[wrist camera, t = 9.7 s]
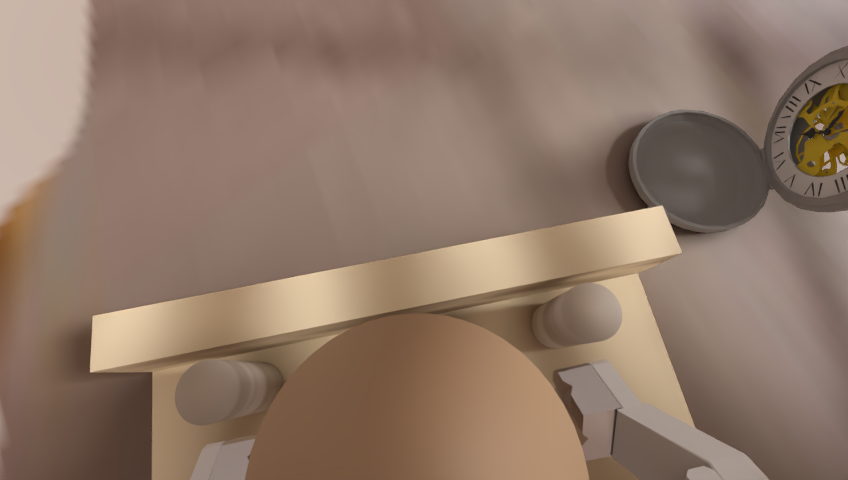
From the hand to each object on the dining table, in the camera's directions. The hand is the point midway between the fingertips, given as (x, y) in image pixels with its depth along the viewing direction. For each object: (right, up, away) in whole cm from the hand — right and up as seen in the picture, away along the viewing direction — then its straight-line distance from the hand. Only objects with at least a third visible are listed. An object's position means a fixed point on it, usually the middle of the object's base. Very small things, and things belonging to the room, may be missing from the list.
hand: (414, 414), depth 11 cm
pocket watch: (+15, +8, +10) cm, 20 cm away
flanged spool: (0, -2, +6) cm, 6 cm away
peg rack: (0, -2, +6) cm, 7 cm away
